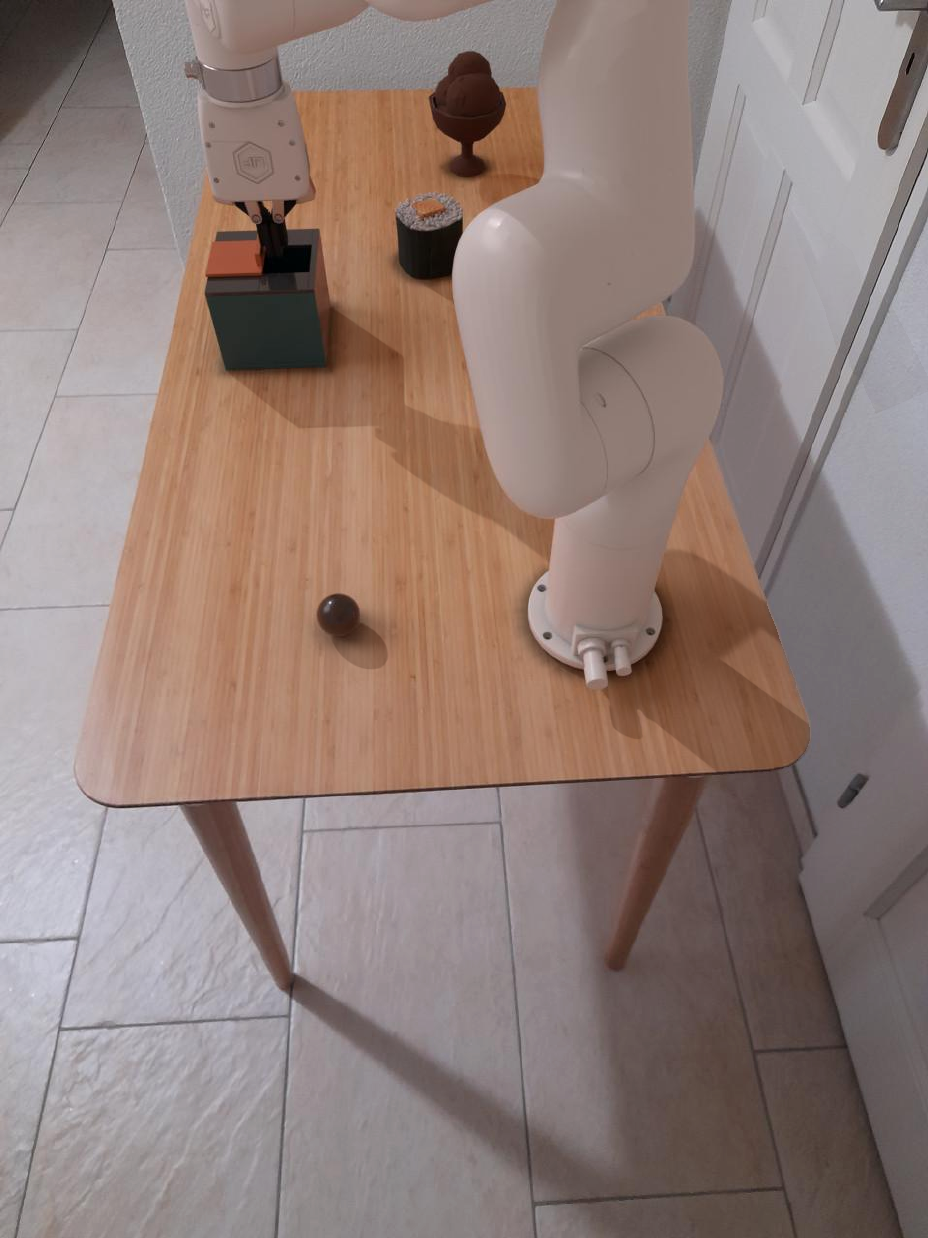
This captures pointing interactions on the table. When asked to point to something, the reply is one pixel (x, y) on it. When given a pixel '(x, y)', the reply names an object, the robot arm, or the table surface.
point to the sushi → (428, 235)
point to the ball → (338, 614)
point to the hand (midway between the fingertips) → (275, 250)
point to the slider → (235, 258)
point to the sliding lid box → (274, 307)
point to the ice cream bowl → (467, 108)
